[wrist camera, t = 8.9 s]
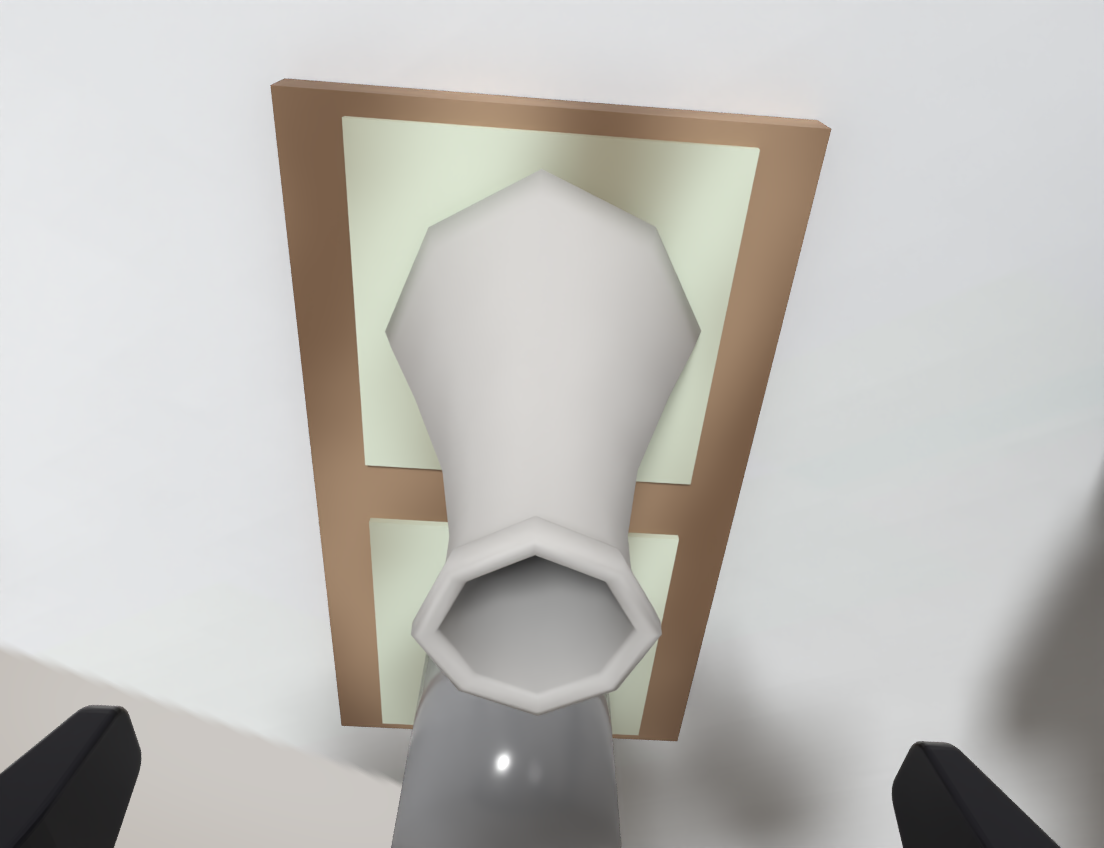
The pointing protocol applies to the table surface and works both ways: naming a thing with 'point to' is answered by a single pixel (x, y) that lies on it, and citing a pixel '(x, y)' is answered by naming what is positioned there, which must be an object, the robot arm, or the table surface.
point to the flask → (540, 434)
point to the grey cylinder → (506, 774)
